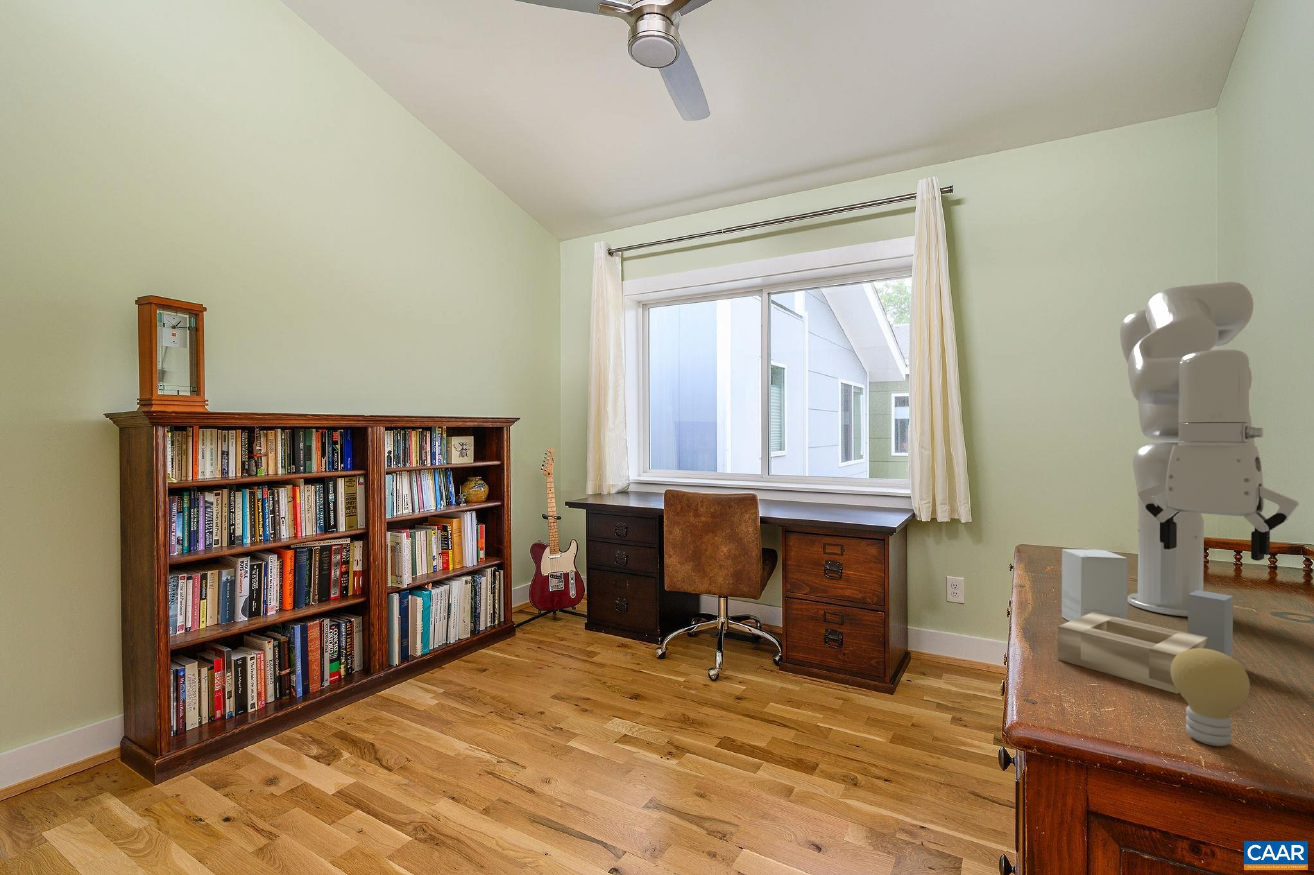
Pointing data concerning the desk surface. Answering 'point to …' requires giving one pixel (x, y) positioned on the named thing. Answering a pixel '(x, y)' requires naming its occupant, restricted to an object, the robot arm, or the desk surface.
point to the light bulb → (1209, 692)
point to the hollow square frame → (1125, 648)
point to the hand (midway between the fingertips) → (1211, 553)
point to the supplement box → (1094, 583)
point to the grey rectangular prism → (1212, 619)
